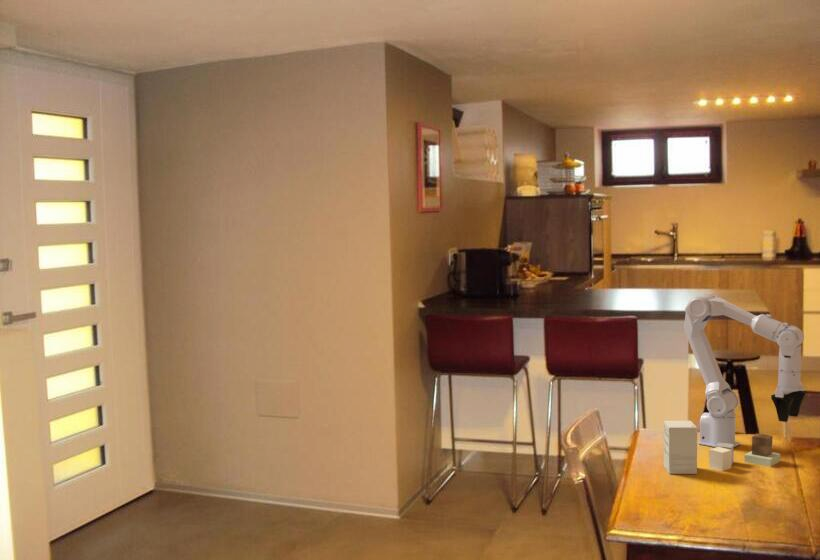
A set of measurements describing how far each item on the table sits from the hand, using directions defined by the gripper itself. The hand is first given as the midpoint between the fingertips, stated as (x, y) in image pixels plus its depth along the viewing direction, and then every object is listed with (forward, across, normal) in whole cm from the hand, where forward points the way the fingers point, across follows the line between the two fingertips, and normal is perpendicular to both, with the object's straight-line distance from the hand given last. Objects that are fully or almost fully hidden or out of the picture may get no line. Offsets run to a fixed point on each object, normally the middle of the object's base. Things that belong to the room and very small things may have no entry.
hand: (788, 418), depth 239 cm
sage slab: (+11, -10, +3) cm, 15 cm away
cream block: (+10, -23, +9) cm, 27 cm away
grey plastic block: (+10, -18, +10) cm, 23 cm away
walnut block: (+8, -10, +3) cm, 13 cm away
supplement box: (+11, -32, +16) cm, 37 cm away
